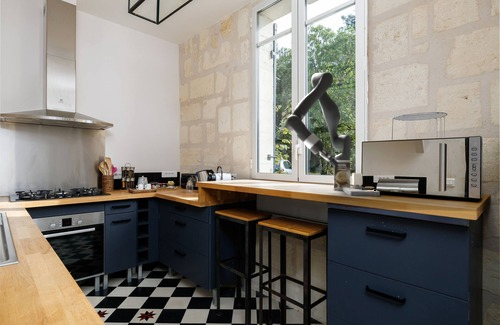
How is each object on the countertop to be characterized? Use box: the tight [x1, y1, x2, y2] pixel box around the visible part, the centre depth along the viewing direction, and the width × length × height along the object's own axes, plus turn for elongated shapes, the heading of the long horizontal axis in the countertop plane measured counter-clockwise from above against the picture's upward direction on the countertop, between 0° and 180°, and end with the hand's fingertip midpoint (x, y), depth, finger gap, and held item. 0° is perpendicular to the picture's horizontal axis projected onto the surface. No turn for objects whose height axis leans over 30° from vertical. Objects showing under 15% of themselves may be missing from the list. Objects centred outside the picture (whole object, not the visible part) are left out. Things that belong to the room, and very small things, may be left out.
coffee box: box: [333, 161, 351, 191], centre depth 160 cm, size 9×6×16 cm
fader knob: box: [351, 172, 363, 188], centre depth 148 cm, size 4×4×8 cm
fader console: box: [342, 187, 380, 197], centre depth 142 cm, size 21×13×2 cm, turn 171°
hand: (335, 164), depth 149 cm, fingers open, 8 cm apart
